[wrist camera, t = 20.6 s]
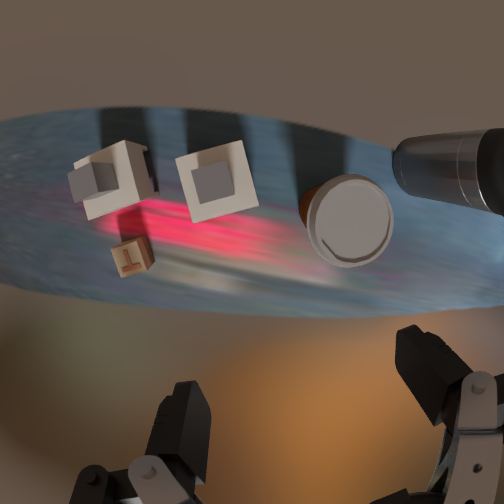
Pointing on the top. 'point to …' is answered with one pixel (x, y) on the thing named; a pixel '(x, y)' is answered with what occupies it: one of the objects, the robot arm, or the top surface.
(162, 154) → the top surface
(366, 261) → the disposable coffee cup
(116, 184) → the cover
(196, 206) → the cover
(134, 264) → the letter cube
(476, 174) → the robot arm
